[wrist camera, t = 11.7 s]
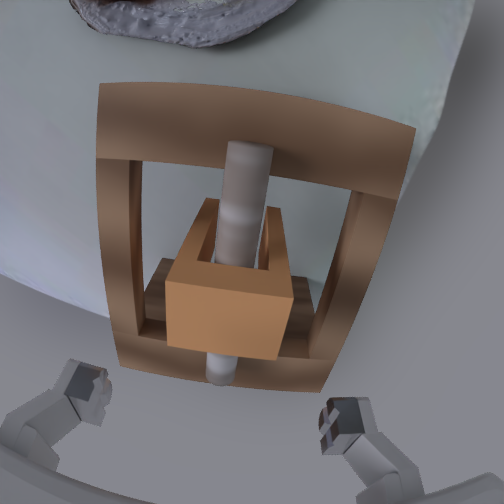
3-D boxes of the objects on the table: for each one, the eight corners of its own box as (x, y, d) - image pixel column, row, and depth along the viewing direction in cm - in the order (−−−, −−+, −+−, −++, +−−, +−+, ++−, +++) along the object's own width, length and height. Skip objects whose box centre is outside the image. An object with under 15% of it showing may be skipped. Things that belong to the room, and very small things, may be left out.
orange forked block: (206, 197, 22) (165, 280, 13) (280, 208, 23) (294, 298, 13) (202, 245, 24) (167, 345, 15) (271, 255, 25) (275, 360, 15)
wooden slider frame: (172, 87, 25) (79, 83, 10) (345, 111, 25) (435, 134, 11) (162, 273, 34) (112, 384, 20) (302, 292, 35) (322, 412, 21)
